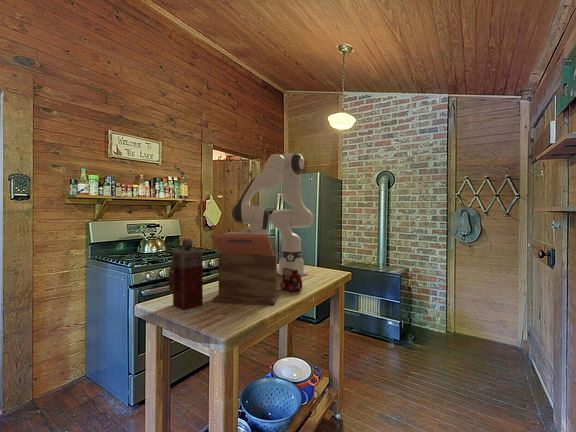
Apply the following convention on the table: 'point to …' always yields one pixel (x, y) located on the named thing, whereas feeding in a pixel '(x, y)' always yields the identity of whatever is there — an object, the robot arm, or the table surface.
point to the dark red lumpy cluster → (291, 280)
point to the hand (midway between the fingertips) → (242, 239)
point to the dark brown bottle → (186, 277)
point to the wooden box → (247, 279)
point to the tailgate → (242, 244)
